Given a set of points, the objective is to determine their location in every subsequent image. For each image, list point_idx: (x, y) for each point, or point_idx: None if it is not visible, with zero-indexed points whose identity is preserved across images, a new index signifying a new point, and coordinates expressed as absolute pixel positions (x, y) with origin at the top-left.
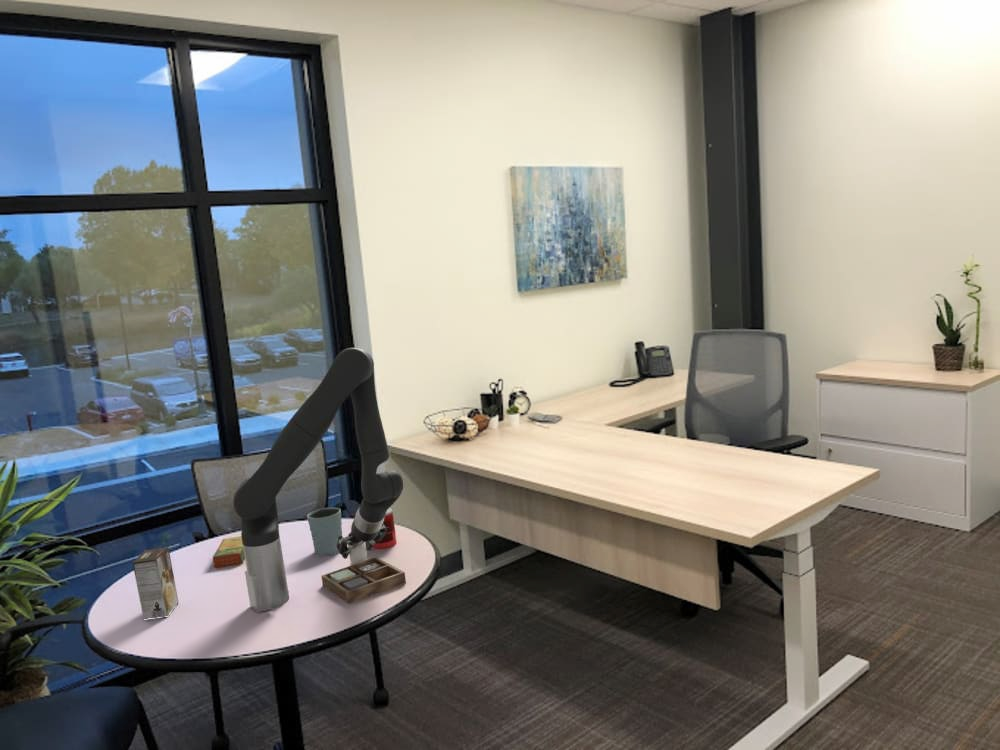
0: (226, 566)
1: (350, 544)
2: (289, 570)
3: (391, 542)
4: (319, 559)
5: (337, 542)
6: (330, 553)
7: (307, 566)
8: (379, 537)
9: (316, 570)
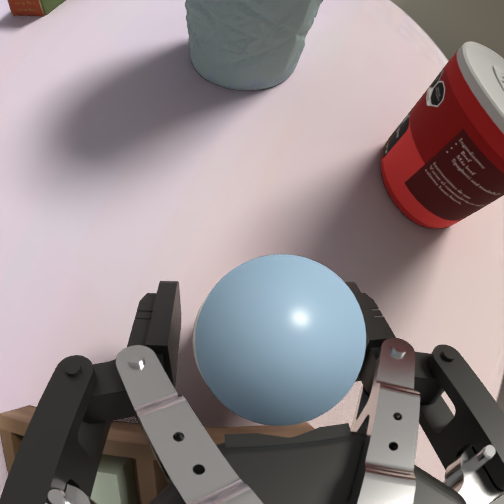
0: (25, 14)
1: (160, 465)
2: (51, 113)
3: (453, 223)
4: (171, 93)
5: (28, 431)
6: (224, 83)
7: (103, 121)
8: (429, 437)
9: (95, 186)
